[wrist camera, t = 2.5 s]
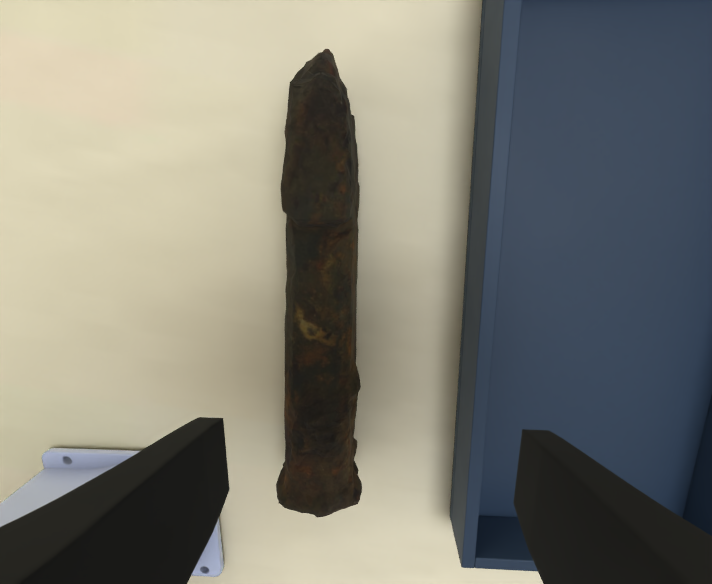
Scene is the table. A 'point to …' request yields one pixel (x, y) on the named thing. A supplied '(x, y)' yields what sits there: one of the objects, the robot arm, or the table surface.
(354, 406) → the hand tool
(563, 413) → the desk tray
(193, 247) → the table surface
